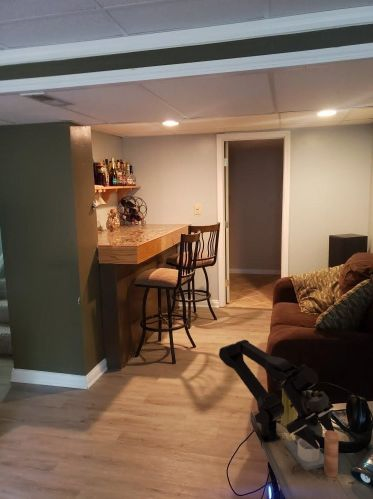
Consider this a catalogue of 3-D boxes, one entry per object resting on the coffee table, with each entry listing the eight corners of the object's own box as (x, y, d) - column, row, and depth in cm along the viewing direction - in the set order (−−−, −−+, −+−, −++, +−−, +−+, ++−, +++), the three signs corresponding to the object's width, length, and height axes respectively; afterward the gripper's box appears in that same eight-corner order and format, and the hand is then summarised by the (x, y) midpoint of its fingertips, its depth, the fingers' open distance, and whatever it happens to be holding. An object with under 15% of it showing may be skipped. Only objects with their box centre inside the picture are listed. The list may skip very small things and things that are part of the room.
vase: (297, 428, 146) (298, 392, 144) (281, 426, 147) (281, 391, 145) (296, 419, 152) (296, 384, 150) (280, 417, 153) (280, 383, 151)
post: (321, 469, 124) (322, 431, 122) (332, 467, 125) (333, 429, 123) (328, 478, 120) (329, 439, 118) (340, 475, 121) (341, 437, 119)
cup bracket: (285, 445, 136) (285, 432, 135) (308, 441, 138) (308, 427, 138) (305, 470, 124) (305, 455, 123) (330, 465, 126) (330, 450, 125)
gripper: (294, 396, 119) (326, 447, 112) (328, 377, 130) (360, 422, 123) (273, 409, 126) (302, 458, 119) (308, 391, 137) (336, 434, 130)
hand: (326, 442), depth 122 cm, fingers open, 9 cm apart
